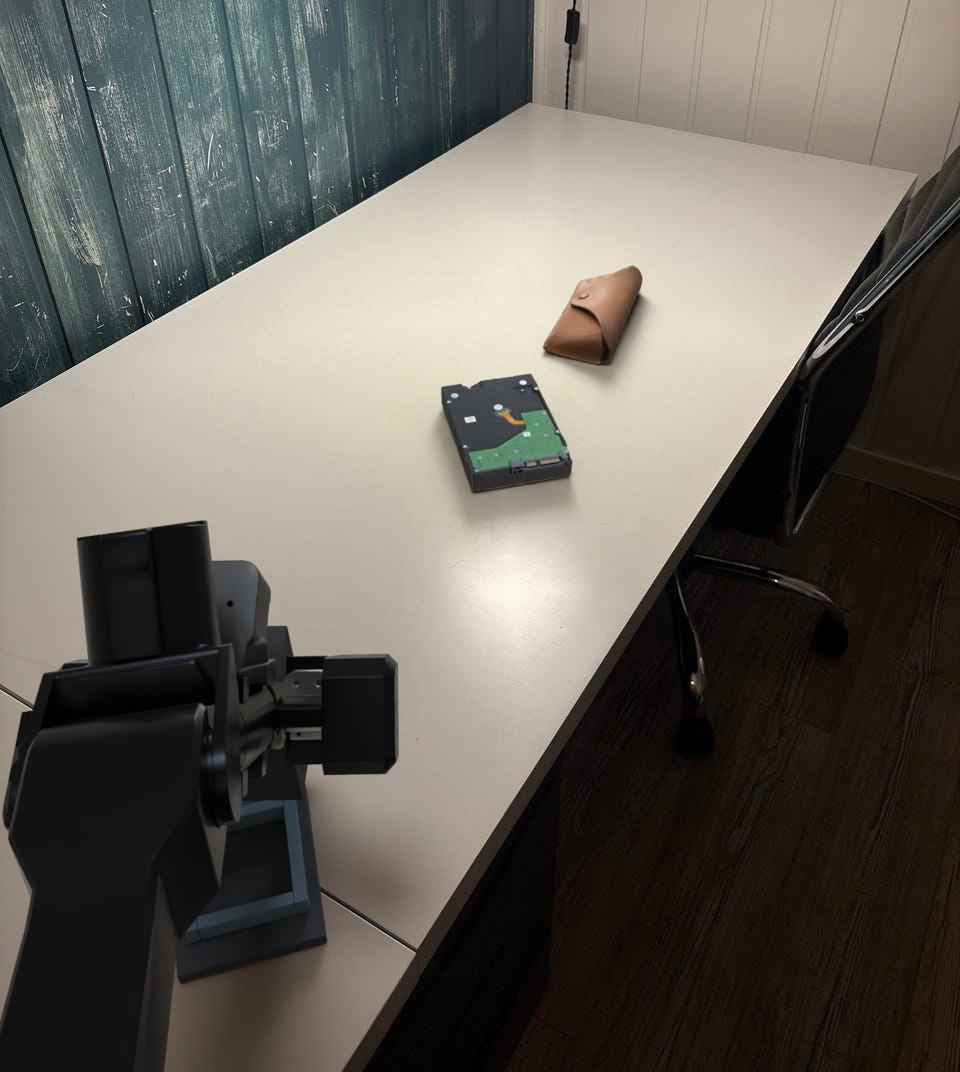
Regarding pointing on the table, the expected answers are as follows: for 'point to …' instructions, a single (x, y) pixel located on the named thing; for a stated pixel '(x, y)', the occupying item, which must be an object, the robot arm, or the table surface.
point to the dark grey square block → (279, 776)
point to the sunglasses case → (595, 317)
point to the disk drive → (505, 432)
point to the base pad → (259, 893)
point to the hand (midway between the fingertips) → (262, 692)
